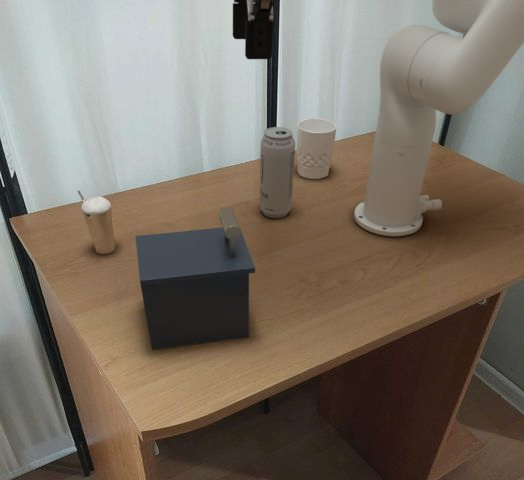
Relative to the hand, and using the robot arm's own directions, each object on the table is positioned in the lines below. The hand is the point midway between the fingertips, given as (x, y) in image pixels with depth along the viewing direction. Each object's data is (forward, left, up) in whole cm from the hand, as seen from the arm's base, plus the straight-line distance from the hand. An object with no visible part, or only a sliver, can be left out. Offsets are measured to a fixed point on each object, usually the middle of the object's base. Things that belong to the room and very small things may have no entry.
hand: (251, 48), depth 68 cm
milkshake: (+24, -8, -32) cm, 41 cm away
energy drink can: (-8, -15, -32) cm, 36 cm away
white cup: (-20, -30, -32) cm, 48 cm away
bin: (+11, +14, -32) cm, 37 cm away
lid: (+11, +14, -21) cm, 27 cm away
